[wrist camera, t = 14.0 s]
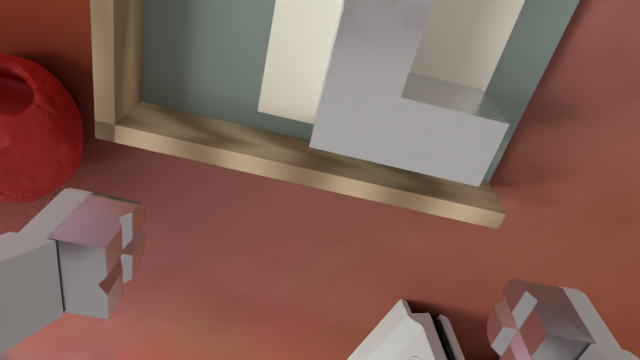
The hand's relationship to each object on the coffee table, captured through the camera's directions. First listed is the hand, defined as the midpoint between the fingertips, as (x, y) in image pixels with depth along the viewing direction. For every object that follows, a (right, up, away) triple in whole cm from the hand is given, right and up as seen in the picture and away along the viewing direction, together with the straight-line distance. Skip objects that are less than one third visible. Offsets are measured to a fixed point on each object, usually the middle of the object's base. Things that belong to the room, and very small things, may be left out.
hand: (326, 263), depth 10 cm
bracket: (+6, +10, +17) cm, 21 cm away
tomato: (-21, +7, +22) cm, 31 cm away
